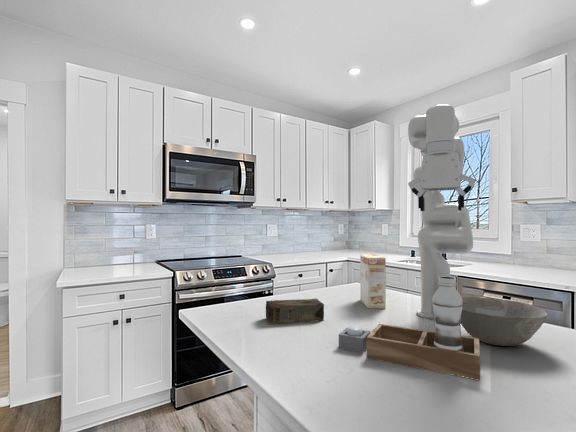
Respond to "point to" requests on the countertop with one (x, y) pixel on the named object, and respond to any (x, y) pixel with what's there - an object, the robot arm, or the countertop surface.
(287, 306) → the brown-grey rectangular block
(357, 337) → the button housing
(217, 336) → the countertop surface
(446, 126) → the robot arm
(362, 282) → the coffeecake box
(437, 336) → the plastic bottle
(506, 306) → the ceramic bowl
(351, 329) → the white domed push button
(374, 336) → the walnut bottle rack
